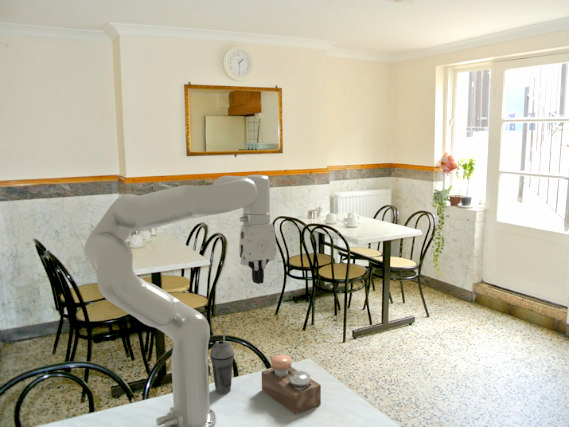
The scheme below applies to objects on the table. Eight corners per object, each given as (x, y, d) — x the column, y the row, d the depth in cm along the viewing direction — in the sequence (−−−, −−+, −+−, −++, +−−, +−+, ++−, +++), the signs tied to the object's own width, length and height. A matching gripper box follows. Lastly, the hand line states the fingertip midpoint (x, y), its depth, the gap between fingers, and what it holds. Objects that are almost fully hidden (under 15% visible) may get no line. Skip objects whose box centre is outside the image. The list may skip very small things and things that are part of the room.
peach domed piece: (279, 389, 145) (278, 365, 144) (267, 381, 150) (267, 358, 149) (295, 383, 149) (295, 359, 148) (283, 375, 154) (283, 352, 152)
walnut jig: (295, 414, 137) (295, 394, 136) (261, 390, 150) (261, 371, 150) (320, 404, 142) (320, 384, 141) (285, 381, 156) (285, 363, 155)
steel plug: (297, 408, 138) (297, 383, 137) (285, 399, 143) (284, 374, 142) (314, 401, 142) (314, 376, 141) (301, 392, 147) (301, 369, 146)
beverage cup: (208, 387, 152) (205, 325, 149) (230, 382, 155) (228, 321, 152) (215, 398, 146) (212, 334, 143) (238, 393, 149) (236, 330, 146)
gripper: (240, 224, 131) (242, 290, 134) (286, 218, 140) (286, 280, 143) (226, 220, 137) (228, 284, 140) (271, 214, 146) (272, 275, 149)
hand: (258, 282), depth 141 cm, fingers closed
